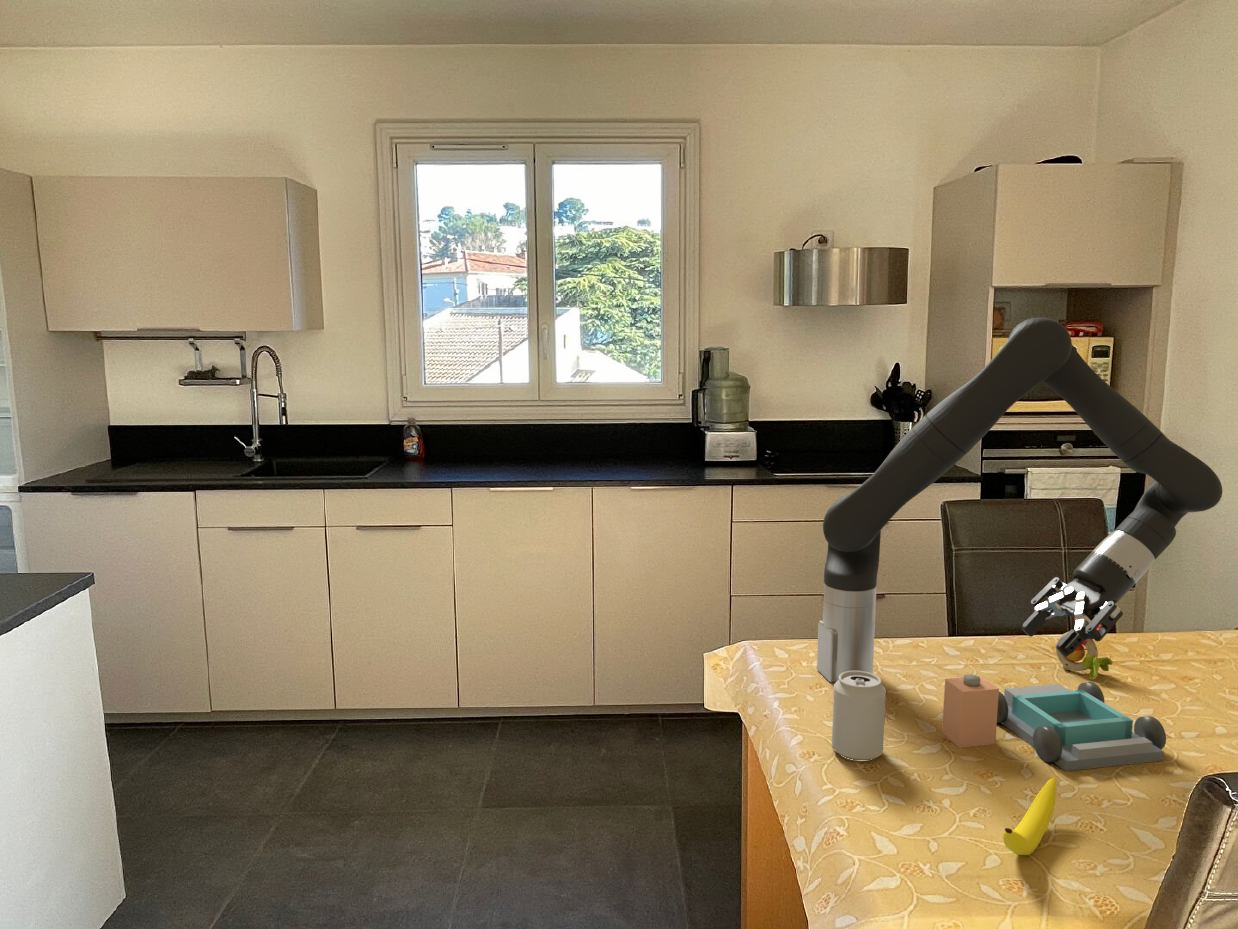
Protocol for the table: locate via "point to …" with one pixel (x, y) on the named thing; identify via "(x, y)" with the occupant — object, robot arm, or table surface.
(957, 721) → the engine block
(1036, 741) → the chassis
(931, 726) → the table surface
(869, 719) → the can
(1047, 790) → the banana
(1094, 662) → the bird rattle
